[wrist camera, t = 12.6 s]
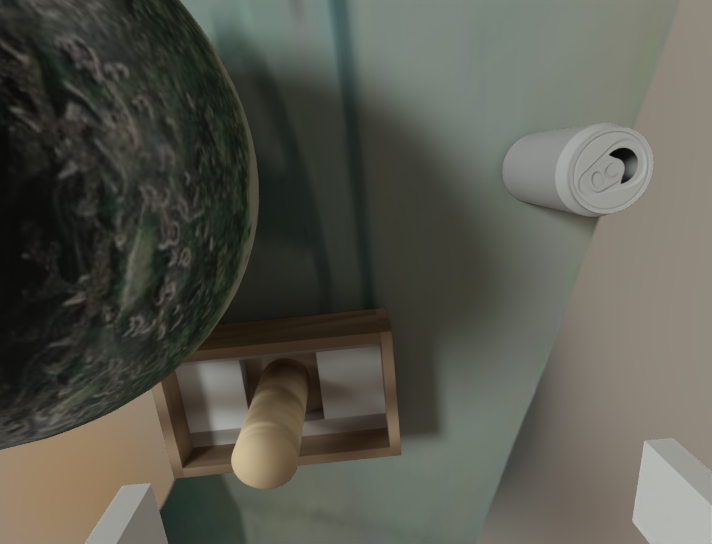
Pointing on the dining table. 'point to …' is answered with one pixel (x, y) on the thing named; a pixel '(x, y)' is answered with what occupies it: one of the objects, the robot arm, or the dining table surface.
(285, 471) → the peg
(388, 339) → the crate
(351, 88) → the dining table surface
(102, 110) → the vase
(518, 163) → the beverage can
